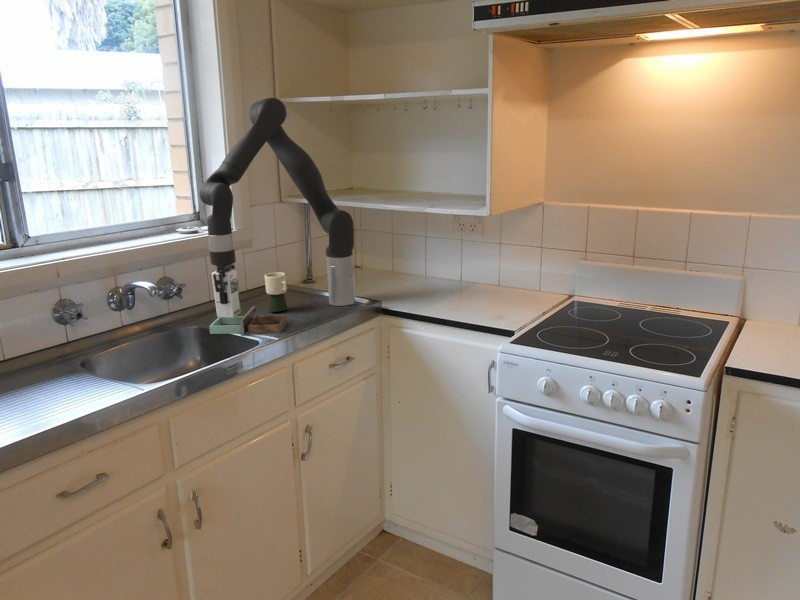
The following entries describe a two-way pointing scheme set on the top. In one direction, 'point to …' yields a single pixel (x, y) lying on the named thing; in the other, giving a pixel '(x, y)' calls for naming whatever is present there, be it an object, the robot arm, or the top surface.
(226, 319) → the tray
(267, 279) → the character mug
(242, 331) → the door edge plate
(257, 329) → the brown wooden tray
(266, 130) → the robot arm
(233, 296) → the syrup box
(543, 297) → the top surface
